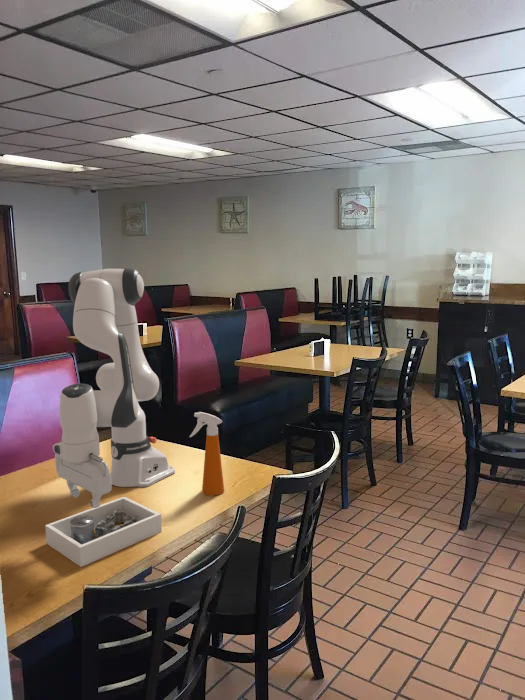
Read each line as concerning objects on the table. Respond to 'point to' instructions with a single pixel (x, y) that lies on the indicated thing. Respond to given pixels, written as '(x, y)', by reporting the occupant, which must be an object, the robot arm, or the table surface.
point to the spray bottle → (211, 454)
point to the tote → (108, 543)
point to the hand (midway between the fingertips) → (85, 501)
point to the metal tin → (82, 529)
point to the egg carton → (113, 523)
